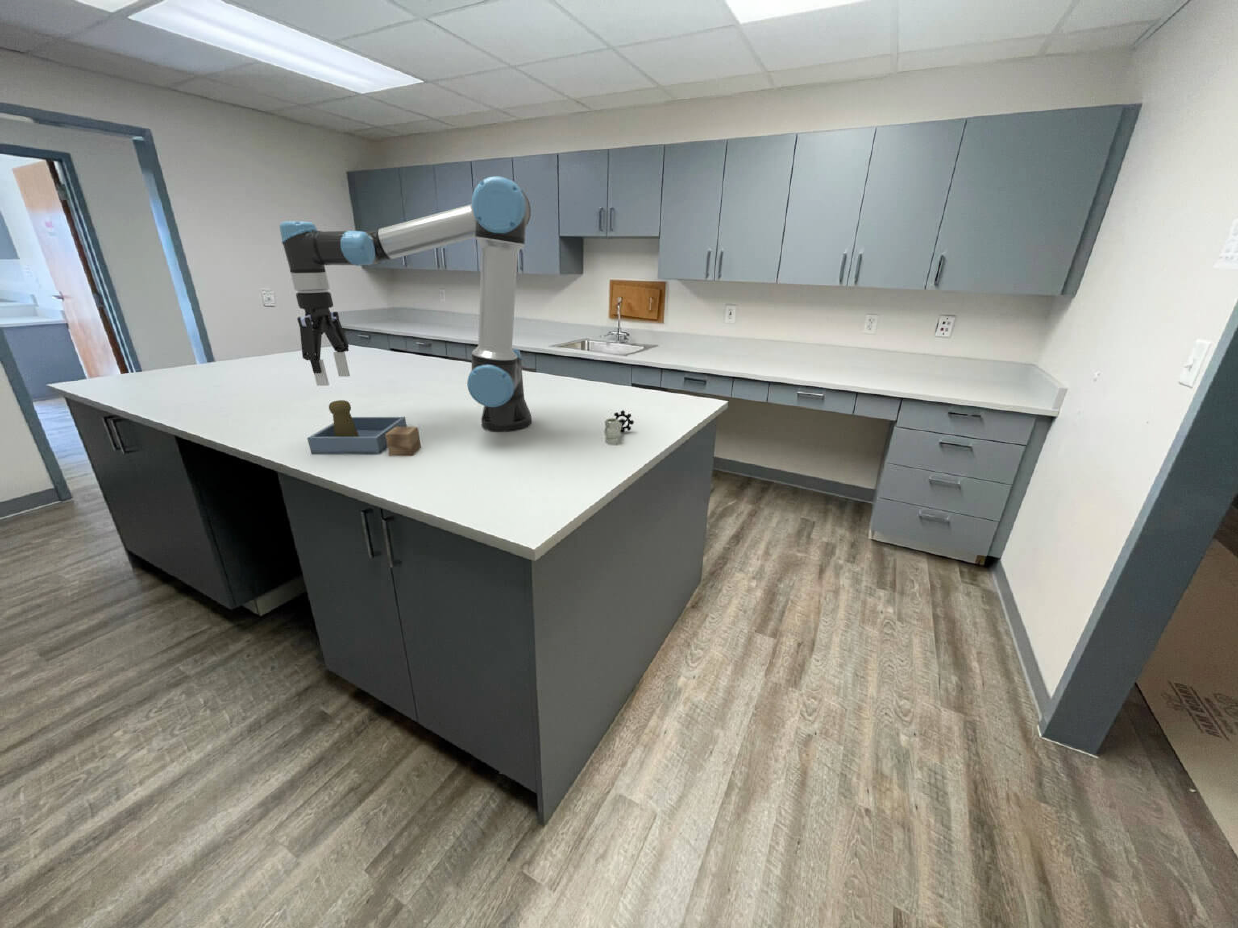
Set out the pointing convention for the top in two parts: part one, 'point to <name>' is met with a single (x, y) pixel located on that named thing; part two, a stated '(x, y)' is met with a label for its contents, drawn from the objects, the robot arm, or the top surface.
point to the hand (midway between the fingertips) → (334, 380)
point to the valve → (616, 427)
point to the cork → (342, 419)
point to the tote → (366, 443)
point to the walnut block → (403, 441)
